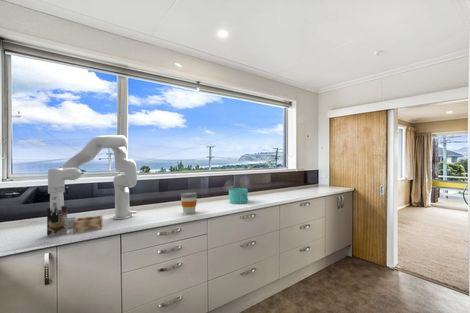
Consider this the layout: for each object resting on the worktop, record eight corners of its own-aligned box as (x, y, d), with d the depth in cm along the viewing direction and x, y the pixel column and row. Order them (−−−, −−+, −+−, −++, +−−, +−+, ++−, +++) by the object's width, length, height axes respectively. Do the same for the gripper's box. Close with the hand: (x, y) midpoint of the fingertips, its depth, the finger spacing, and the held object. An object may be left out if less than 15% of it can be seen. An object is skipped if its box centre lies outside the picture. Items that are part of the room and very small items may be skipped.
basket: (227, 201, 226) (227, 188, 226) (245, 200, 230) (245, 187, 230) (230, 204, 207) (230, 190, 208) (250, 203, 211) (250, 189, 211)
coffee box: (46, 237, 125) (46, 208, 126) (47, 234, 131) (47, 206, 131) (67, 234, 131) (67, 206, 131) (67, 231, 136) (67, 204, 136)
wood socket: (102, 224, 150) (102, 215, 150) (101, 229, 140) (101, 219, 140) (76, 227, 143) (76, 218, 143) (73, 232, 133) (73, 222, 133)
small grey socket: (78, 224, 151) (78, 216, 151) (76, 227, 145) (76, 219, 145) (64, 225, 148) (64, 218, 148) (61, 229, 141) (61, 220, 141)
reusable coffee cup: (200, 211, 184) (200, 192, 184) (190, 214, 172) (190, 194, 172) (187, 210, 189) (187, 191, 189) (177, 213, 178) (177, 194, 178)
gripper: (61, 191, 124) (61, 222, 124) (67, 187, 140) (67, 216, 140) (43, 192, 121) (44, 224, 121) (52, 188, 136) (52, 217, 136)
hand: (56, 220), depth 130 cm, fingers open, 9 cm apart
